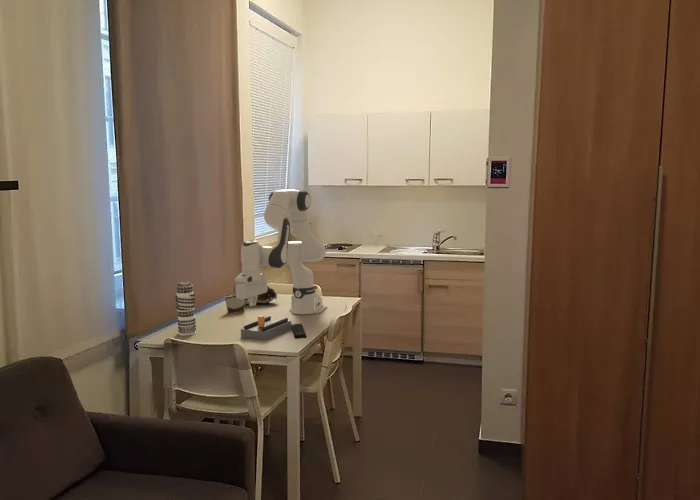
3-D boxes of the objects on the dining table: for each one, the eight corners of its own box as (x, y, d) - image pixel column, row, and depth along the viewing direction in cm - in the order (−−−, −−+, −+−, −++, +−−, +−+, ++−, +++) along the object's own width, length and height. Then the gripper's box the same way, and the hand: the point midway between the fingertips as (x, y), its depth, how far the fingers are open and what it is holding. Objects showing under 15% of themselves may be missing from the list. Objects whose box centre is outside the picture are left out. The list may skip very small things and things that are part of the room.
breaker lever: (260, 325, 289) (260, 315, 288) (264, 326, 288) (264, 315, 287) (258, 326, 287) (257, 316, 286) (262, 327, 286) (261, 316, 285)
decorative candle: (191, 329, 302) (188, 280, 299) (200, 332, 295) (197, 282, 292) (174, 333, 296) (170, 282, 293) (183, 336, 289) (179, 285, 286)
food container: (242, 309, 345) (241, 291, 344) (246, 311, 340) (245, 293, 339) (221, 312, 339) (220, 294, 338) (225, 314, 334) (224, 296, 332)
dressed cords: (269, 318, 303) (269, 315, 303) (288, 320, 298) (288, 317, 298) (242, 329, 284) (242, 326, 284) (263, 331, 279) (263, 328, 279)
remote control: (295, 339, 281) (294, 336, 281) (290, 327, 304) (290, 324, 304) (306, 338, 282) (306, 335, 282) (301, 326, 305) (301, 323, 305)
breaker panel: (267, 326, 304) (267, 318, 304) (291, 328, 298) (291, 320, 298) (241, 337, 285) (240, 329, 284) (265, 340, 279) (265, 331, 278)
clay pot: (274, 286, 348) (235, 277, 354) (269, 312, 348) (230, 303, 354) (283, 285, 362) (245, 276, 368) (279, 310, 363) (241, 301, 369)
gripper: (259, 272, 289) (260, 300, 291) (232, 279, 271) (233, 309, 273) (270, 273, 287) (271, 301, 288) (243, 279, 268) (245, 310, 270)
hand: (252, 305), depth 280 cm, fingers closed
